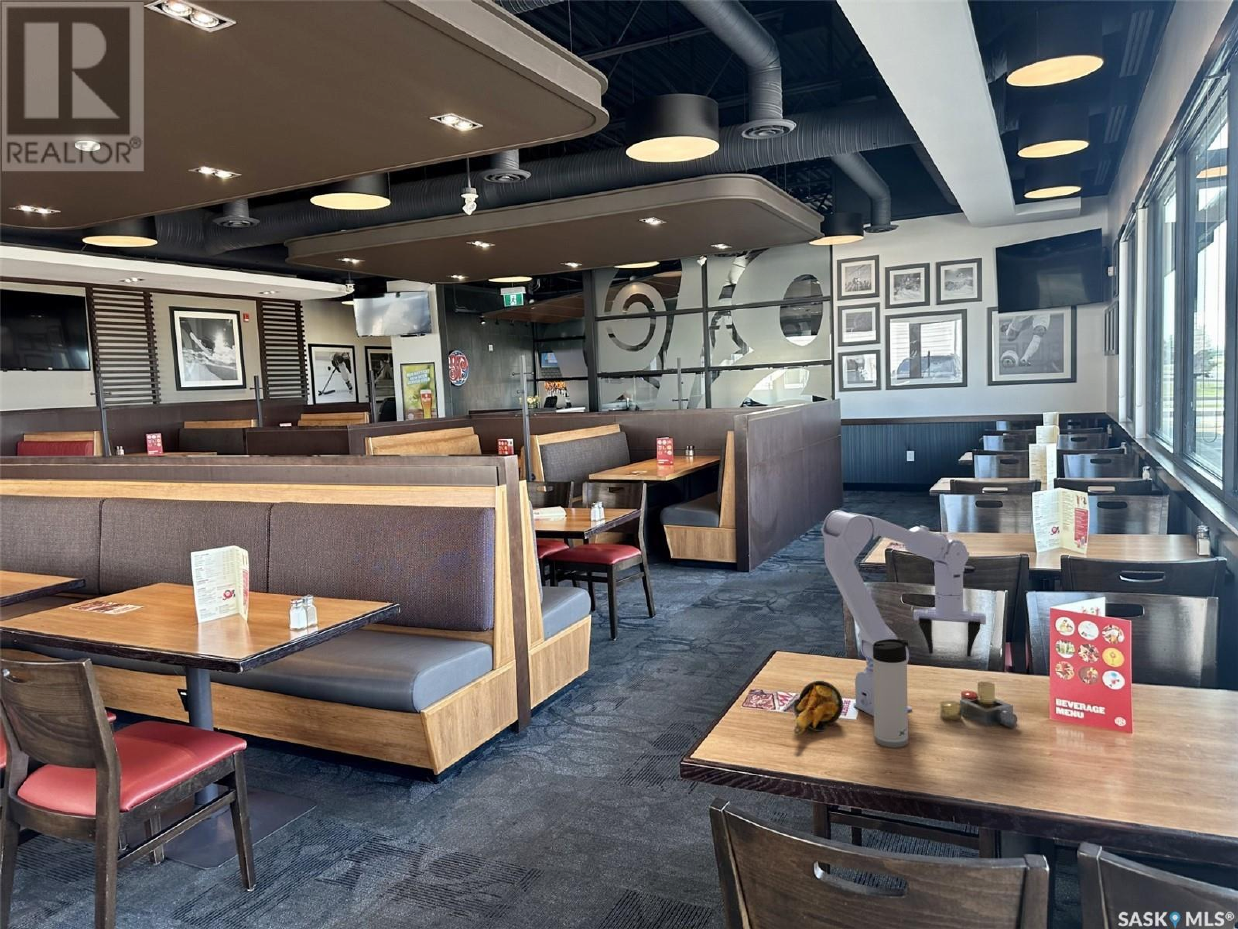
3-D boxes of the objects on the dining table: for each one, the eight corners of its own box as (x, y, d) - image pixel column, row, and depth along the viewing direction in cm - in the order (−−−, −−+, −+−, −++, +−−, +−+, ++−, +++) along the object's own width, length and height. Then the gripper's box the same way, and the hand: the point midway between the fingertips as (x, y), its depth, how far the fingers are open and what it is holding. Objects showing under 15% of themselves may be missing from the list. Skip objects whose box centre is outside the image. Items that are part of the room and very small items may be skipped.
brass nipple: (986, 716, 164) (986, 688, 163) (974, 711, 167) (974, 683, 166) (998, 714, 165) (998, 685, 165) (986, 708, 168) (985, 680, 168)
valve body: (998, 732, 159) (998, 714, 159) (950, 710, 171) (950, 694, 170) (1025, 725, 161) (1025, 708, 161) (976, 704, 173) (976, 688, 173)
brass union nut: (950, 723, 164) (950, 709, 164) (936, 716, 168) (935, 702, 168) (965, 720, 166) (965, 705, 165) (951, 713, 169) (951, 699, 169)
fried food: (851, 693, 171) (846, 695, 154) (830, 741, 170) (822, 749, 153) (810, 672, 174) (801, 673, 158) (789, 720, 173) (778, 725, 157)
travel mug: (912, 749, 153) (910, 646, 152) (876, 747, 155) (874, 645, 153) (907, 735, 159) (905, 636, 158) (872, 734, 161) (870, 635, 159)
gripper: (985, 590, 176) (985, 651, 177) (914, 586, 182) (915, 645, 183) (985, 598, 170) (986, 661, 171) (912, 594, 176) (913, 655, 177)
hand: (949, 653), depth 177 cm, fingers open, 7 cm apart
